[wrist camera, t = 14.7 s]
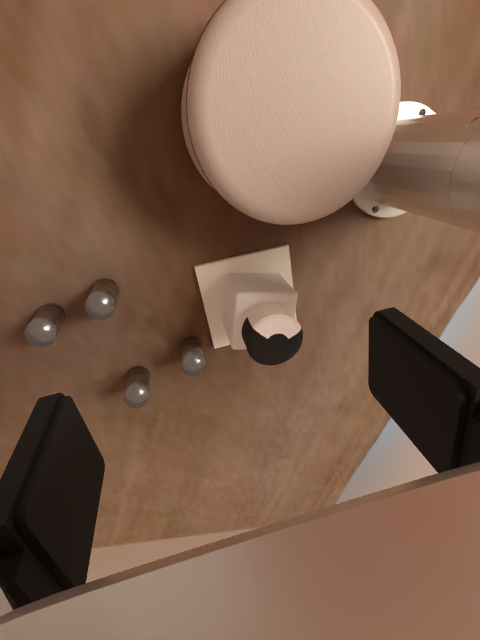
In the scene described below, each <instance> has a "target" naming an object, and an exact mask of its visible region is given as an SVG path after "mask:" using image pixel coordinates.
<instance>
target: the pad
mask: <svg viewBox="0 0 480 640" xmlns="http://www.w3.org/2000/svg"><path fill="white" fill-rule="evenodd" d="M194 267H195V271H196V275H197V280H198V284H199V288H200V292H201V296H202V300H203V304H204V308H205V312H206V316H207V320H208V324H209V329H210V333H211V337H212V341H213V345H214V349H216V348H220V347H224V346H228V345H230V342H229V339H228V336H227V333H226V330H225V327H224V324H223V309H224V293H225V277H226V274H227V273H279V274H280V275H281V276H282V277H283V278H284V279H285V280H286V282H287V283H288V284H289V285H290V286H291V287H292V288H293V282H292V272H291V263H290V253H289V245H282V246H278V247H274V248H269V249H265V250H261V251H256V252H252V253H248V254H243V255H239V256H235V257H230V258H226V259H222V260H217V261H213V262H209V263H204V264H200V265H196V266H194ZM294 318H295V319H296V310H295V315H294ZM296 320H297V319H296Z"/></svg>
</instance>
